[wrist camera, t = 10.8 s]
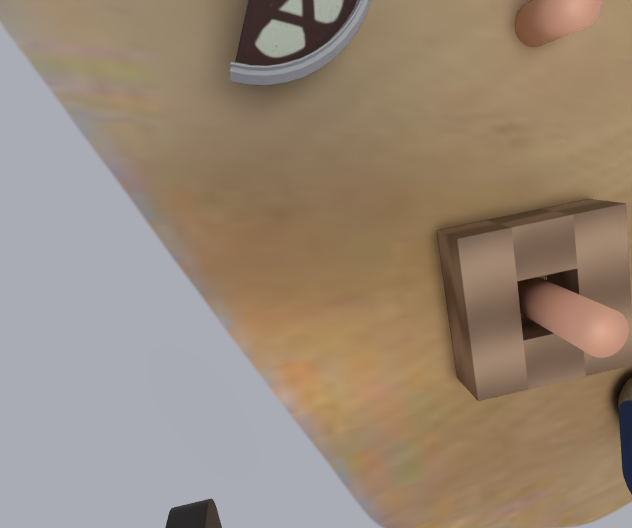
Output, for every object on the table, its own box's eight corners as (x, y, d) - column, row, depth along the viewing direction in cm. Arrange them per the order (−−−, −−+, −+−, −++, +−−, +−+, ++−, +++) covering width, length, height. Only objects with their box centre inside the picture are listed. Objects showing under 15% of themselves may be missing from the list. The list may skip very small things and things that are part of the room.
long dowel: (499, 276, 39) (578, 314, 30) (536, 268, 40) (627, 304, 30) (503, 312, 40) (582, 362, 30) (540, 304, 40) (630, 351, 30)
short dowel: (513, 4, 35) (553, -20, 30) (554, -3, 36) (601, -29, 31) (517, 50, 36) (557, 33, 31) (557, 42, 36) (603, 24, 31)
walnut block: (436, 230, 38) (457, 239, 34) (588, 198, 39) (625, 203, 35) (457, 377, 41) (478, 401, 37) (599, 345, 41) (634, 364, 38)
